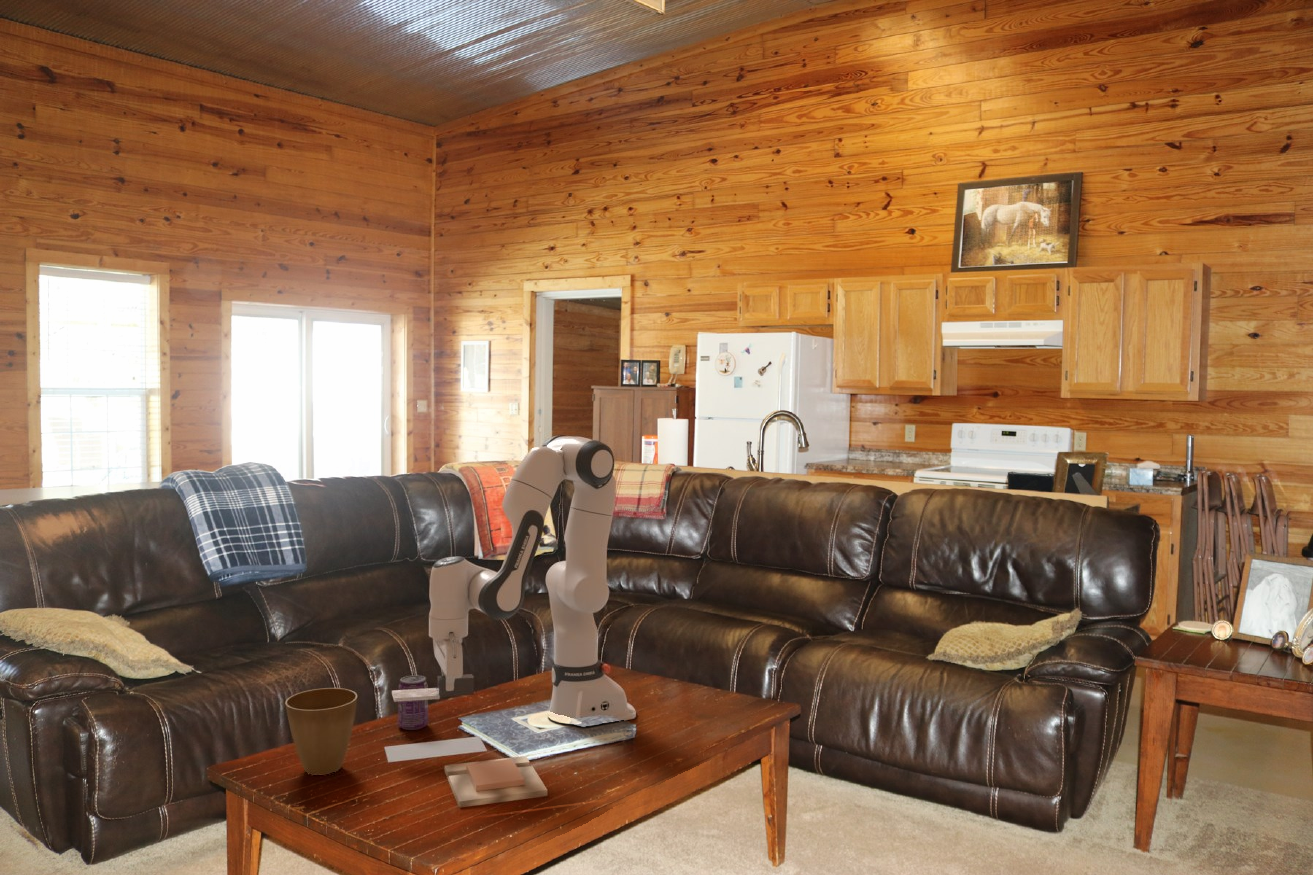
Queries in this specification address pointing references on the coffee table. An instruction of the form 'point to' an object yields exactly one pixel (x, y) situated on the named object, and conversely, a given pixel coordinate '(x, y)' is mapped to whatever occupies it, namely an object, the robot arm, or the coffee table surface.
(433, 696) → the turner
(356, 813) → the coffee table surface
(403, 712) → the beverage can
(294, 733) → the plant pot
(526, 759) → the tile stand
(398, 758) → the tool mat
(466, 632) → the robot arm
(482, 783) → the tile
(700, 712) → the coffee table surface
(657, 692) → the coffee table surface
